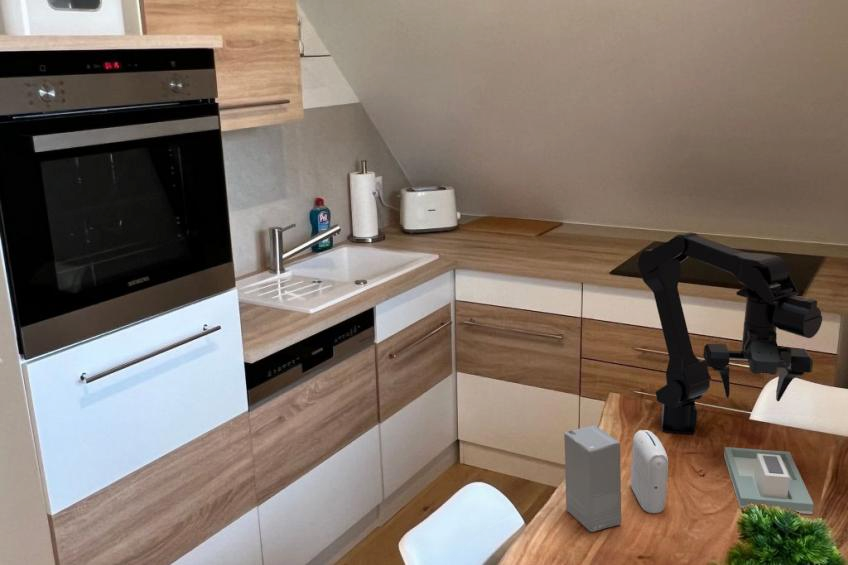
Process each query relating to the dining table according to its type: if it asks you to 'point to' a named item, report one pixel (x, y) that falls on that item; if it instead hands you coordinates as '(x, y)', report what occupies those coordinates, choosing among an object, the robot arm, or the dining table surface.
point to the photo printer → (649, 471)
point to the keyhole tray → (745, 488)
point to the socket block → (771, 476)
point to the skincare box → (593, 477)
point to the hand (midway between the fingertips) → (752, 398)
